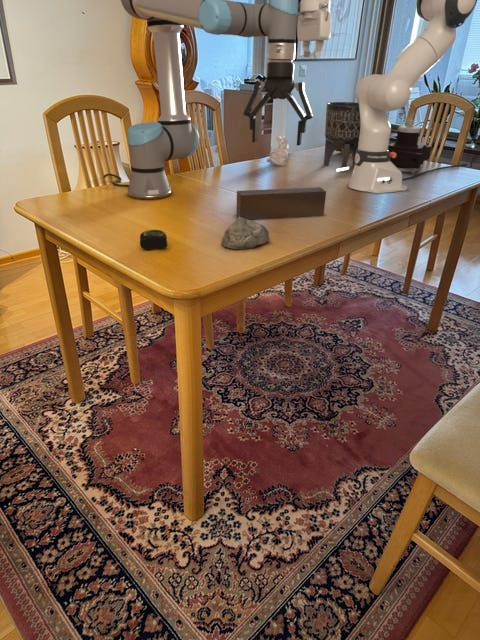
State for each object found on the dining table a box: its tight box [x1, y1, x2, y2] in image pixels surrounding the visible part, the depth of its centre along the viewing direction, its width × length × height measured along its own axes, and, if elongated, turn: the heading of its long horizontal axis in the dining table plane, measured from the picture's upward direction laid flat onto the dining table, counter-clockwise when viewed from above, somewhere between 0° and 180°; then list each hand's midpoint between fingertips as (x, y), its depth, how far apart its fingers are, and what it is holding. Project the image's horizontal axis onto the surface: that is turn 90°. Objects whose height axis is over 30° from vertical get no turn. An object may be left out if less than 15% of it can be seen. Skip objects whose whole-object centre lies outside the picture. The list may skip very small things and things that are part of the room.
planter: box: [323, 101, 360, 172], centre depth 204 cm, size 20×20×26 cm
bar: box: [236, 186, 327, 221], centre depth 142 cm, size 28×5×8 cm, turn 104°
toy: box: [335, 147, 352, 155], centre depth 240 cm, size 11×6×15 cm
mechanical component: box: [388, 119, 433, 174], centre depth 204 cm, size 22×21×30 cm
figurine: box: [265, 134, 290, 166], centre depth 208 cm, size 8×15×13 cm, turn 145°
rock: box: [221, 217, 270, 250], centre depth 119 cm, size 13×9×6 cm, turn 131°
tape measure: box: [139, 229, 168, 250], centre depth 117 cm, size 7×7×4 cm
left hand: (276, 143), depth 135 cm, fingers open, 13 cm apart
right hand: (311, 57), depth 146 cm, fingers open, 8 cm apart
